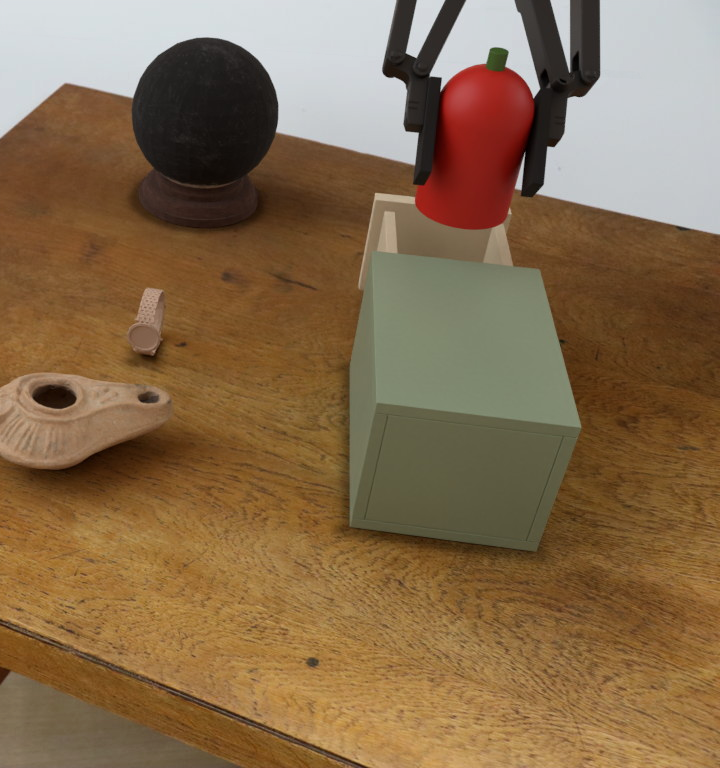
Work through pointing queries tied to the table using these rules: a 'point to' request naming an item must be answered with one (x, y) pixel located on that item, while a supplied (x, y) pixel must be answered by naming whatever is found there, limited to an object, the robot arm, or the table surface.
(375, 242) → the drawer
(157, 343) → the wristwatch
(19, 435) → the pottery oil lamp
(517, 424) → the cabinet
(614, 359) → the table surface
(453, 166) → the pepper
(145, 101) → the black ball on stand
